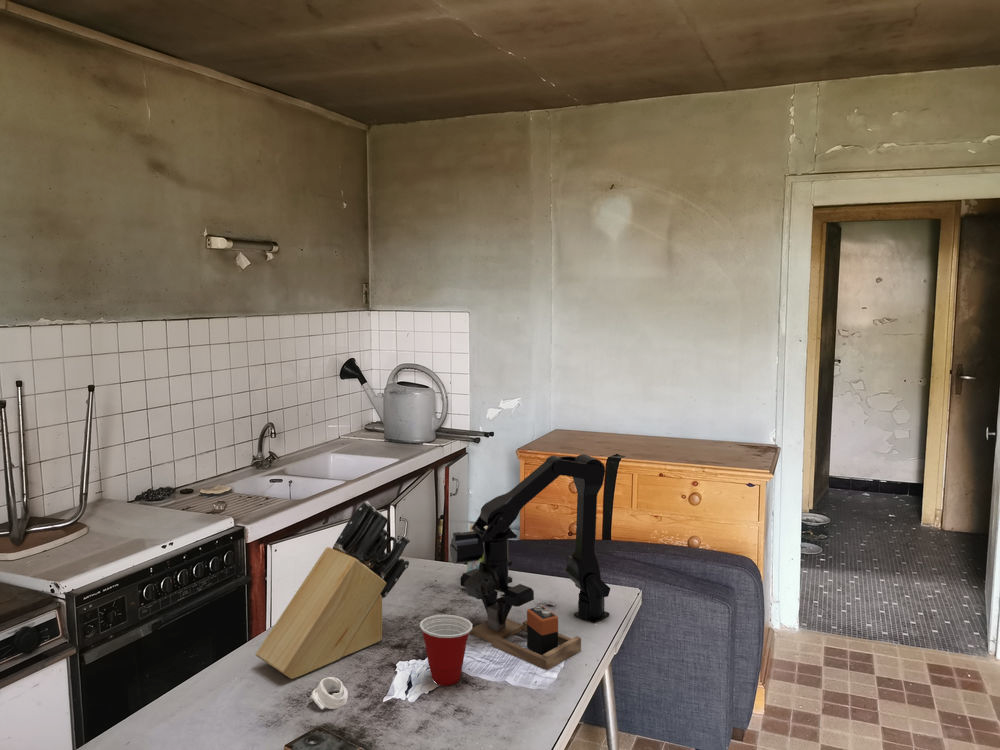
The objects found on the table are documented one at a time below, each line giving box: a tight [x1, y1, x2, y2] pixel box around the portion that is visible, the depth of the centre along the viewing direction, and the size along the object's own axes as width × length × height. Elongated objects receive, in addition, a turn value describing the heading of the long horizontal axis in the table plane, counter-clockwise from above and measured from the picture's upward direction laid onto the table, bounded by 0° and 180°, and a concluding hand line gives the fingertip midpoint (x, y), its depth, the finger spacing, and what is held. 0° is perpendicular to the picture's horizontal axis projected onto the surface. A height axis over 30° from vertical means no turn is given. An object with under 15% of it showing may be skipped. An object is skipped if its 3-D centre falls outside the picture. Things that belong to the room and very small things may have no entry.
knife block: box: [255, 500, 411, 680], centre depth 169 cm, size 11×35×31 cm, turn 137°
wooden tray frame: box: [469, 603, 582, 671], centre depth 171 cm, size 12×24×6 cm, turn 46°
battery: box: [526, 604, 559, 656], centre depth 167 cm, size 4×7×10 cm, turn 28°
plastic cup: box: [419, 614, 473, 687], centre depth 156 cm, size 11×11×12 cm
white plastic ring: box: [308, 676, 349, 710], centre depth 148 cm, size 8×7×5 cm
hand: (496, 622), depth 177 cm, fingers closed on wooden tray frame, 3 cm apart
